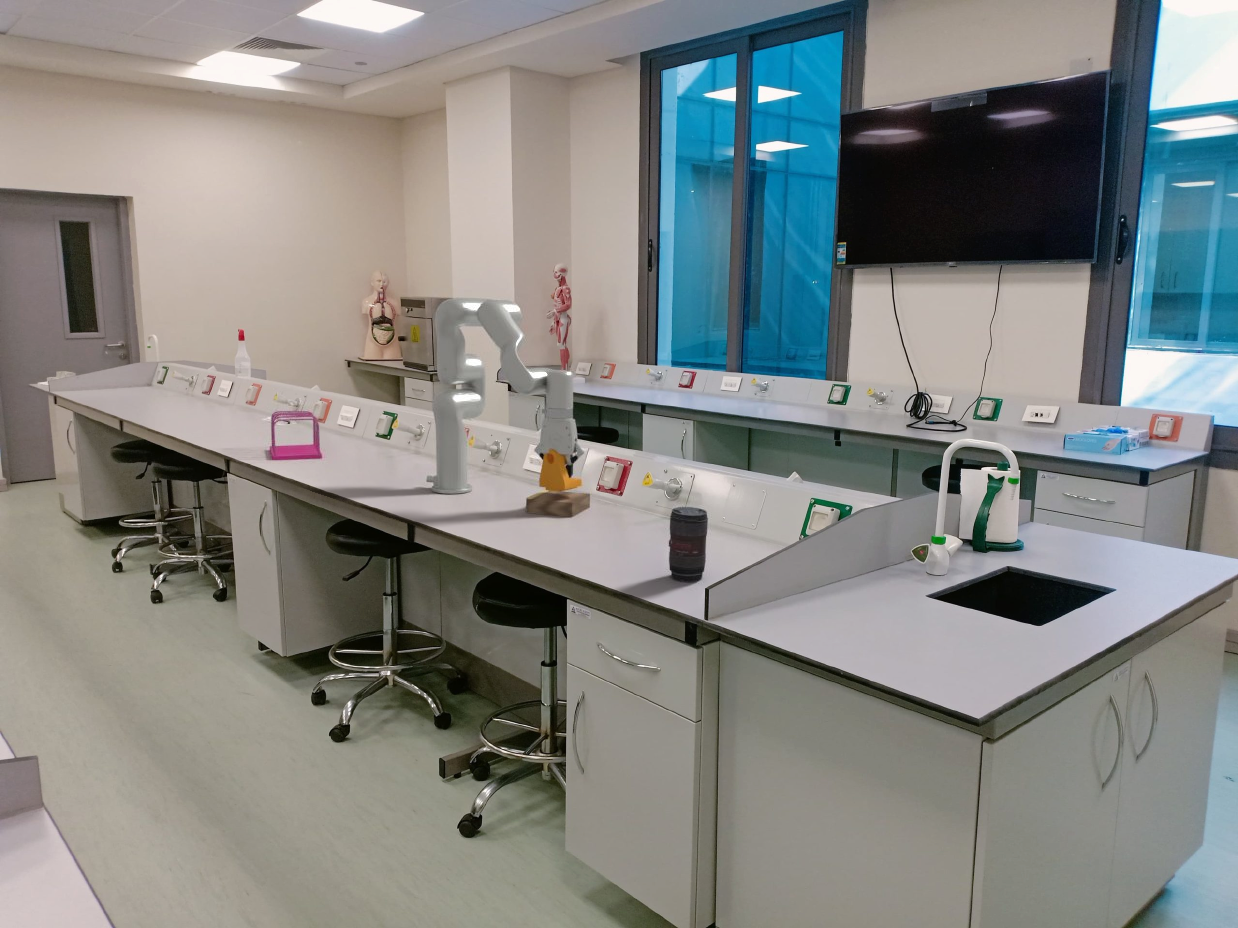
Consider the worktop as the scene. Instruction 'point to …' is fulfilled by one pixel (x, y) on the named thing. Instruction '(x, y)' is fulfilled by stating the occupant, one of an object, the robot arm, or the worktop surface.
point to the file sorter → (295, 450)
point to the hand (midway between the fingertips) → (558, 476)
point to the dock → (557, 503)
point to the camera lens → (687, 543)
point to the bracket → (556, 473)
